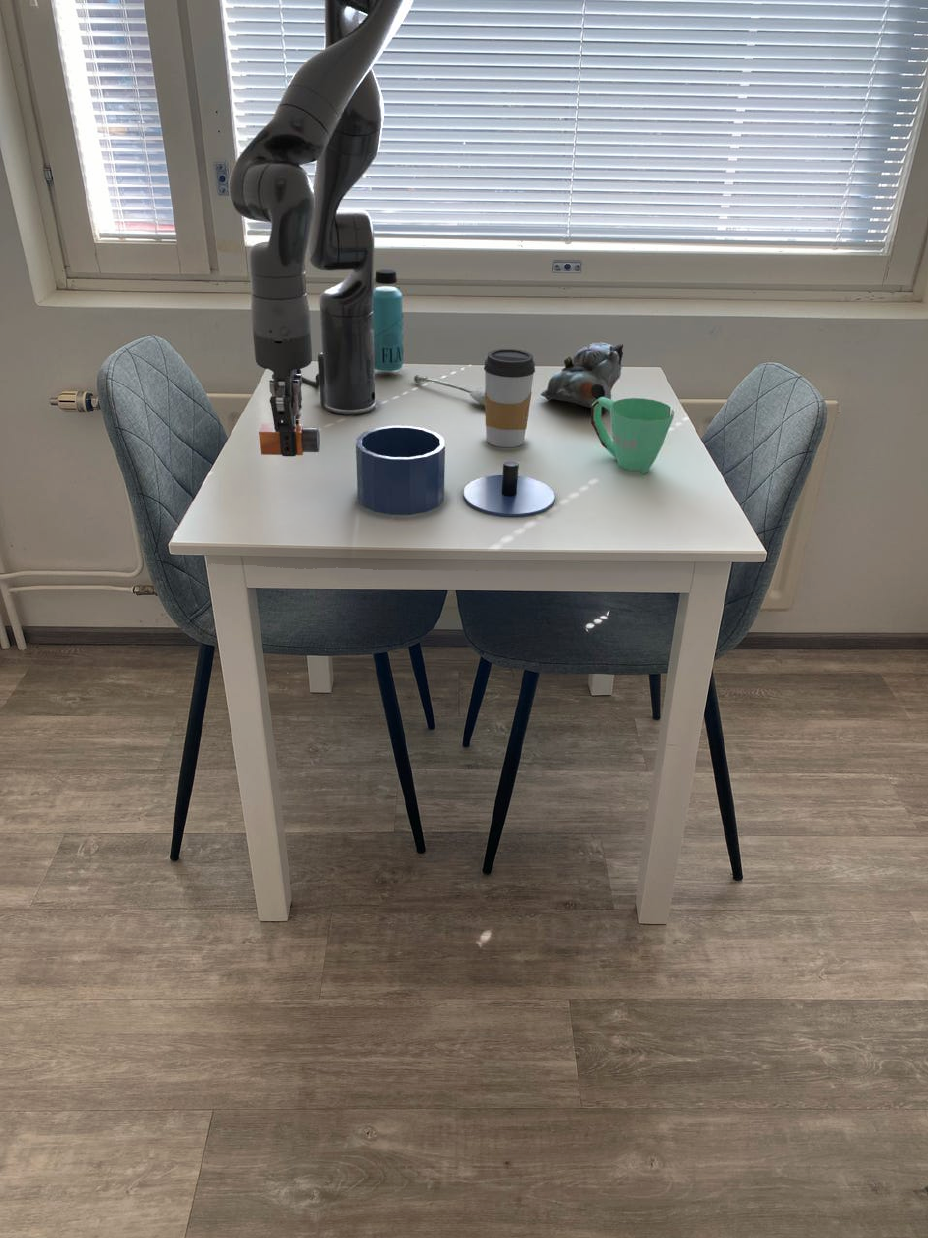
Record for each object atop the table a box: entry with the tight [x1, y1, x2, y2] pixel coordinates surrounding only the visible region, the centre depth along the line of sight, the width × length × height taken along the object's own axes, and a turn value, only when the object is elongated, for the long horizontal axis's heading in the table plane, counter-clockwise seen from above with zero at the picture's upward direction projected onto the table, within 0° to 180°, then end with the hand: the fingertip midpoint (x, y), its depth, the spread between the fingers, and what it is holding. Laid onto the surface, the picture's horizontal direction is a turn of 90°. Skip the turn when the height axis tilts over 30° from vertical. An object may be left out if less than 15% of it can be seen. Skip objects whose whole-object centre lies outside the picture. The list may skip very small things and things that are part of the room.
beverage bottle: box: [373, 268, 404, 372], centre depth 176 cm, size 6×7×20 cm
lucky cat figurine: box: [540, 342, 624, 415], centre depth 166 cm, size 15×12×14 cm
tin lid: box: [462, 459, 556, 518], centre depth 132 cm, size 14×14×6 cm
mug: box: [590, 397, 675, 475], centre depth 144 cm, size 15×10×10 cm
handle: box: [258, 423, 321, 456], centre depth 127 cm, size 8×3×3 cm, turn 92°
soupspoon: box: [413, 374, 485, 407], centre depth 171 cm, size 22×3×7 cm
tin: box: [355, 425, 446, 516], centre depth 130 cm, size 13×13×9 cm
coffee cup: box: [483, 348, 536, 448], centre depth 148 cm, size 8×8×15 cm
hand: (290, 449), depth 128 cm, fingers closed on handle, 3 cm apart
